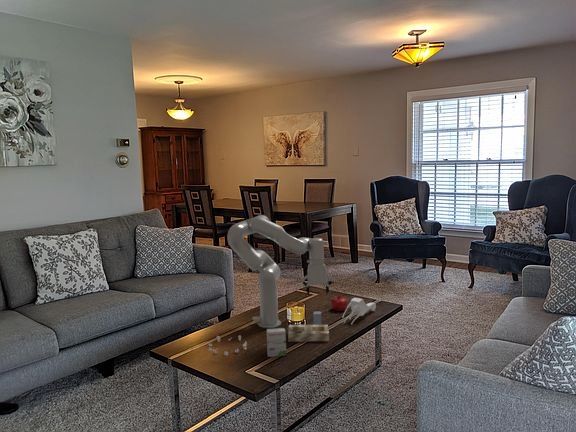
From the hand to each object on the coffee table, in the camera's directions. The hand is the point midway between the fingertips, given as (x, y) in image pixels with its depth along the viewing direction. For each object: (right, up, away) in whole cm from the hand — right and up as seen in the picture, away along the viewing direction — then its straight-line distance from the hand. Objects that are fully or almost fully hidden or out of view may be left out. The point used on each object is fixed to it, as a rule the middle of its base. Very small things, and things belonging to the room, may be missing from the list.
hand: (317, 293), depth 242 cm
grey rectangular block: (0, -18, +2) cm, 18 cm away
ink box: (-21, -23, -31) cm, 44 cm away
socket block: (-5, -20, -10) cm, 23 cm away
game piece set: (-45, -23, -21) cm, 54 cm away
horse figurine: (+25, -17, +16) cm, 34 cm away
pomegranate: (+15, -15, +31) cm, 37 cm away
